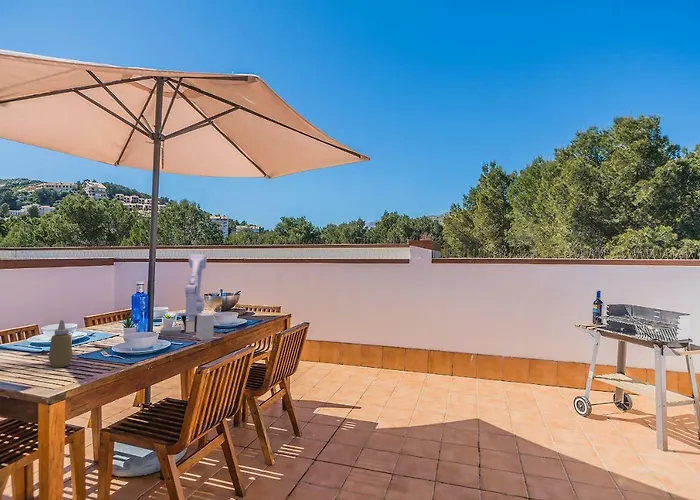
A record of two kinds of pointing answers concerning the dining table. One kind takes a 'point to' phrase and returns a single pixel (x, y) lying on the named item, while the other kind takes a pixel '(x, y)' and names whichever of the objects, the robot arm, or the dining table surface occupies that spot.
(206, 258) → the robot arm
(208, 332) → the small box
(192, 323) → the cream block
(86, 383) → the dining table surface
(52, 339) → the squeeze bottle
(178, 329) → the slate base
